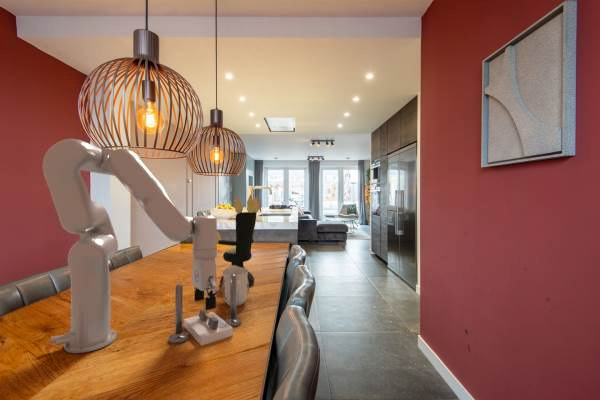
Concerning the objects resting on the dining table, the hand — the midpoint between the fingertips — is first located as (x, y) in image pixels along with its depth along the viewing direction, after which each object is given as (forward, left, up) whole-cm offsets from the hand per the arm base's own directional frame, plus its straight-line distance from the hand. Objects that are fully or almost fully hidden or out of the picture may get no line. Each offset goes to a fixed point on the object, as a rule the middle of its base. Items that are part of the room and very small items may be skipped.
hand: (204, 304), depth 97 cm
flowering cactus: (+31, +35, -8) cm, 48 cm away
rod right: (+9, -3, -8) cm, 12 cm away
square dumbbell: (0, -3, -5) cm, 6 cm away
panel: (0, -3, -8) cm, 8 cm away
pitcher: (+18, +13, -8) cm, 24 cm away
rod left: (-9, -3, -8) cm, 12 cm away
